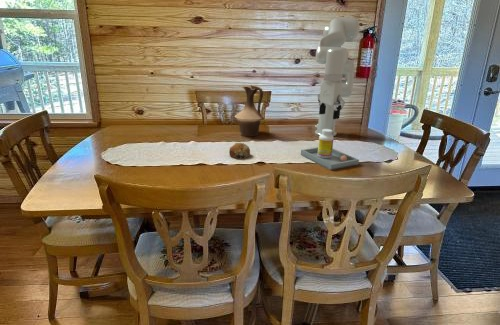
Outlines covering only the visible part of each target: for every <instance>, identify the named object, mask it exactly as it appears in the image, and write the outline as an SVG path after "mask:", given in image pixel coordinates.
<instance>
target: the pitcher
mask: <svg viewBox="0 0 500 325" xmlns="http://www.w3.org/2000/svg"><path fill="white" fill-rule="evenodd" d="M239 87H240V88H242V89H243V90H245V94H246V102H245V105H244V107H243V109H242V110H240V112H239V113H238V112H237V114H235V115H234V118H235V119H237V122H238V126H239V134H240V136H243V137H255V136H258V135H259V131H260V125H261V121H263V120H264V119H265V116H264V114H262V112H261V105H262V101H263V98H264V91H263V89H262V87H261V86H258V85H254V84H250V85H240V86H239ZM258 91H259V97H258V103H257V108H256V106H255V103H254V96H255V94H257V92H258Z"/></svg>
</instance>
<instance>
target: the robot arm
mask: <svg viewBox="0 0 500 325" xmlns="http://www.w3.org/2000/svg"><path fill="white" fill-rule="evenodd" d="M359 32H360V22H359V19H357V18H354V17H335V18H333V19H331V20H330V21H329V24H328V25H326V26H325V25H324V28H323V31H322V33H323V37H322V38H321V39H320V40H319V41H318V43H317V45H316V51H315V61H316V63H317V64H320V65H324V74H323V75H324V76H323V77H324V79H323V80H322V81H321V82H320V87H319V88H320V89H319V90H320V92H319V93H318V94H317V101H318V105H319V112H318V114H319V115H318V121H317V122H318V123H317V124H315V125H314V127H315V128H316V130H314V134H315V135H317V136H320V135H322V129H330V130H332V134H331V135H332V136H333V137H334V136H335V137H336V135H337V134H338V133H337V132H336V131H335V126H336V120H339V119H340V115H341V111H342V110H343V108H344V106H345V104H346V101H345V100H344V99H343V98H349V97H351V95H352V93H353V87H354V79H355V66H356V65H355V61H354V60H352V59H349V51H348V49H347V48H345V47H342V46H343V45H345V43H353V42H355V41H356V40H357V37H358V34H359ZM342 78H344V79H342Z"/></svg>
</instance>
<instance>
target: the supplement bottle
mask: <svg viewBox="0 0 500 325" xmlns="http://www.w3.org/2000/svg"><path fill="white" fill-rule="evenodd" d="M331 134H332V130H330V129H322V135H318V145H317V147H318V154H317V155H318V156H319V157H321V158H330V157H331V156H332V148H333V149H334V138H335V137H334V136H332V135H331Z"/></svg>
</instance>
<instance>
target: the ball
mask: <svg viewBox="0 0 500 325" xmlns="http://www.w3.org/2000/svg"><path fill="white" fill-rule="evenodd" d="M340 160H341V161H342V162H344V161H346V160H347V157H346V156H345V155H342V156H341V157H340Z"/></svg>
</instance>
